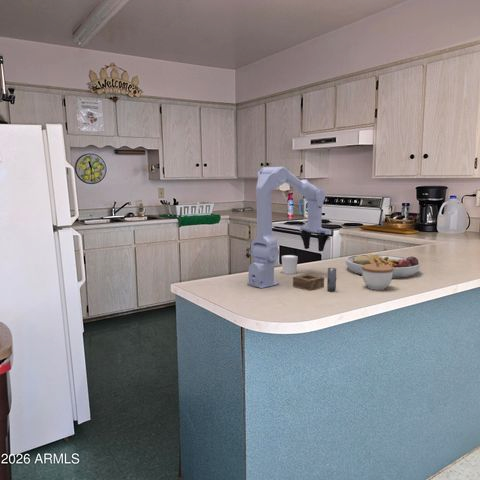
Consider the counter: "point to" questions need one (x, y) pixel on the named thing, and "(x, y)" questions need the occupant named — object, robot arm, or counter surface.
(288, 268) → the shot glass
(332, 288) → the pin
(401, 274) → the bowl
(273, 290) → the counter surface
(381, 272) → the lidded jar
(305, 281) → the socket block
